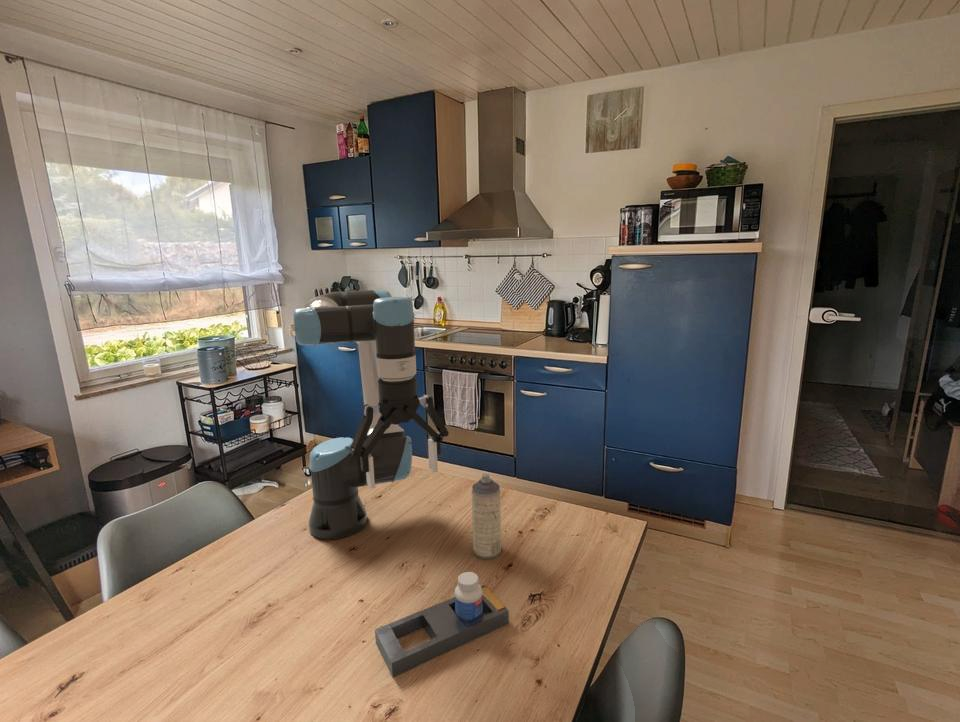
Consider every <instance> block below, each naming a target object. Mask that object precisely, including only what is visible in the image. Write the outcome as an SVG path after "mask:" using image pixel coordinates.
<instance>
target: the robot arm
mask: <svg viewBox="0 0 960 722" xmlns="http://www.w3.org/2000/svg"><path fill="white" fill-rule="evenodd" d="M414 319H415V312H414V304H413V300H412V299H411V298H409V297H408V296H407V297H405V296H392V295H391V293H390V292H389V291H387V290H384V289H382V290H379V289H378V290H377V289H371V290H369V289H368V290H367V289H366V290H350V291H349V290H347V291H346V290H345V291H332V292H328V293H324V294H320V295H318V296H315V297H313V298H312V299H310V300H309V301H307V303H306V304H305V306H304V307H303V308H301V307H300V308H296V309H295V310H294V311H293V327H294V337H295V341H296V343H297V344H298V345H300V346H313V347H315V346H319V345H328V344H341V343H356V344H357V346H358V355H359V356H358V358H359V366H360V368H359V369H360V375H361V377H360V378H361V385H362V386H361V387H362V396H363V408H362V409H363V410H362V418H361V421H360V422H359V425H358V428H357V430H356V432H355V435H354V438H353V437H352V438H351V437H348V436H347V437H343V436H342V437H336V438H335V437H334V438H331V439H328V440H325V441H322V442H320V443H319V444H318V445H316V446H314V447H313V449H311V451H310V452H309V471H310V477H311V488H312V489H311V490H312V498H313V504H312V507H311V511H310V515H309V519H308V528H309V533H310V534H311V536H313V537H315V538H317V539H321V540H340V539H344V538H348V537H350V536H353V535H354V534H357V533H359V532H360V531H361V530H362V529H364V528H365V526H366V525H367V523H368V517H367V516H368V515H367V510H366V507H365V506H364V504H363V502H362V499H361V497H360V495H359V488H360V487H361V488H362V487H367V486H368V487H369V488H370V489H371V490H372V489H375V488H376V485H379V484H385V483H394V482H399V481H402V480H406V479H407V478H408V477H409V476H410V474H411V472H412V471H411V470H412V463H413V446H412V439H411V437H410V436H408V435H405V430H404V429H403V428H402V427H401V426H400V424H401V423H404V424H406V423H410V421H411V420H413V421H414V422H415V423H416V424H417V425H418V426H419V427H421V428H422V430H423V431H424V432H425V433H427V435H428V436H430V437H431V438H428V439H427V447H428V449H427V450H428V453H427V455H428V469H430V470H431V471H432V472H433V473H437V472H439V470H438V469H439V467H438V456H439V455H441V443H442V441H443V438H444V437H448V436H449V434H450V433H449V431H448V429H447V427H446V425H445V424H444V422H443V420H442V418H441V417H440V415H439V413H438V412H437V410H436V407H435V405H434V399H433V397H432V396H430V395H428V394H426V393H424V394H423V395H422V396H420V397H418V379H417V377H416V376H415V375H416V374H417V362H416V361H417V357H416V343H415V341H416V340H415V320H414ZM420 405H421V406H422V407H423V408H424V409H425V411H426V412H427V414H428V416H429V418H430V419H431V421H432V423H433V425H434V426H435V429H436V430H437V431H435V429H433V428H432V427H431V426H430V425H429V423H427V422H426V420H424V419H423V418H422V416H421V415H419V413H417V411H418V409H419V407H420Z"/></svg>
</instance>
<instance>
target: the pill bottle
mask: <svg viewBox="0 0 960 722" xmlns="http://www.w3.org/2000/svg"><path fill="white" fill-rule="evenodd" d="M481 586H482V585H480V582H479V576H478V575H477V573H476V572H472V571H465V572H463V573H461V574H459V575H458V577H457V586H456V587H455V589H454V597H455V613H456V615H457V616H458V618H459V619H460V620H461V622H462V623H463V624H464V625H465V624H467V623H469V622H472V621H474V620H476V619H478V618H481V617H483V616H484V613H483V602H482V588H481Z"/></svg>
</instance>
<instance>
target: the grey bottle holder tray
mask: <svg viewBox="0 0 960 722" xmlns="http://www.w3.org/2000/svg"><path fill="white" fill-rule="evenodd" d="M480 586H481V588H482V602H483V617H481V618H478V619H476V620H474V621H472V622H469V623H467V624H465V625H464V624H463V623H462V622H461V620H460V619H459V618H458V616H457V615H456V613H455V596H454V597H451V598H449V599H446V600H444V601H442V602H440V603H436V604H435V605H434V604H433V605H432V606H429V607H427V608H424V609H422V610H420V611H417V612H415V613H411V614H410V615H407V616H405V617H401V618H399V619H398V620H395V621H393V622H390V623H388V624H385V625H382V626H380V627H378V628H374V636H375V644H376V646H377V649H378V651H379V653H380V655H381V656H382V657H381V658H383V661H384V662H385V665H386V667H387V669H388V671H389V673H390V675H391V678H396V677H398V676H400V675H402V674H404V673H406V672H408V671H411V670H412V669H415V668H418V667H419V666H421V665H424V664H426V663H428V662H431V661H432V660H434V659H436V658H438V657H440V656H442V655H444V654H447V653H449V652H451V651H454V650H455V649H458V648H460V647H462V646H463V645H466V644H468V643H470V642H473V641H475V640H477V639H479V638H481V637H484V636H485V635H488V634H490V633H492V632H494V631H496V630H498V629H500V628H503V627H505V626H507V625H509V623H510V622H509V621H510V619H509V618H510V616H509V614H510V613H509V612H510V610H509V609H508V608H507V606H505V605H504V603H502V601H501V600H499V598H498V597H497V596H496V594H494V593H493V592H492V591H491V589H490V588H489V587H488V586H487V585H486V584H483V585H480ZM423 629H424V630H425V633H426V634H427V635H428V637H429V638H430V639H429V640H427V641H424V642H422V643H420V644H418V645H416V646H414V647H411V648H409V649H407V650H404V648H403V647H402V645H401V643H400V641H399V640H400V639H402V638H404V637H406V636H408V635H411V634H413V633H416V632H419V631H420V630H423Z"/></svg>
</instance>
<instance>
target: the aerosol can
mask: <svg viewBox="0 0 960 722" xmlns="http://www.w3.org/2000/svg"><path fill="white" fill-rule="evenodd" d="M471 488H472V489H471V514H472V515H471V516H472V547H473V549H472V551H473V554H474V555H475V556H476V557H477V558H479V559H481V560H493V559H495V558H498V557H499V556H500V554H501V552H502V520H501V519H502V512H501V510H502V509H501V506H502V505H501V488H500V485H499V483H498V482H496V481H494V480H493V479H491V477H490V474H489V473H483V474H482V476H481V478H480V479H479V480H478V481H477V482H476V483H474V484H473V485H472V487H471Z"/></svg>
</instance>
